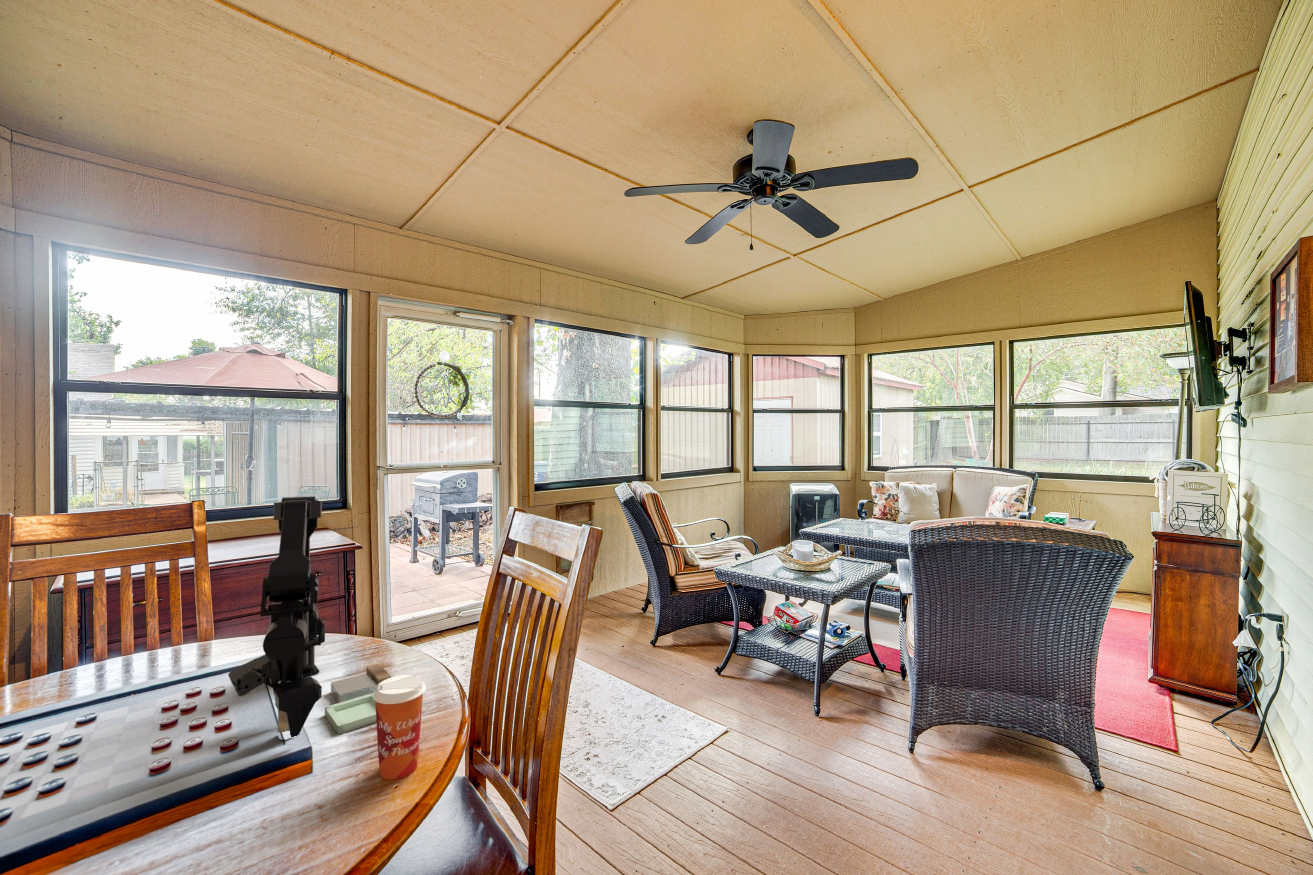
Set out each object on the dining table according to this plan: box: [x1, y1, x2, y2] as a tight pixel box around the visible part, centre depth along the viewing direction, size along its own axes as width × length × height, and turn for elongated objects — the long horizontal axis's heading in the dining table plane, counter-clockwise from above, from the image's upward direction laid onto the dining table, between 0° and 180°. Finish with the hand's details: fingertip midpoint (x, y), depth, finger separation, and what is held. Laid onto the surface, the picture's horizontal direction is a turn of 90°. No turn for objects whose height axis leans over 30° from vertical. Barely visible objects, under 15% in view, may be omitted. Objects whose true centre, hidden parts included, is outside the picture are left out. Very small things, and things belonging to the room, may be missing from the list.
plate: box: [330, 672, 378, 704], centre depth 116 cm, size 7×7×2 cm
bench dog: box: [366, 663, 392, 684], centre depth 120 cm, size 8×2×3 cm, turn 44°
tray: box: [324, 693, 376, 735], centre depth 107 cm, size 9×9×2 cm
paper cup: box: [373, 674, 427, 781], centre depth 91 cm, size 8×8×14 cm
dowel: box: [277, 709, 289, 733], centre depth 100 cm, size 3×3×6 cm
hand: (288, 725), depth 100 cm, fingers open, 9 cm apart
